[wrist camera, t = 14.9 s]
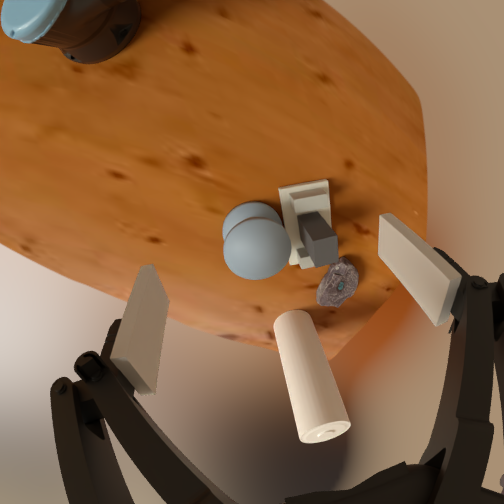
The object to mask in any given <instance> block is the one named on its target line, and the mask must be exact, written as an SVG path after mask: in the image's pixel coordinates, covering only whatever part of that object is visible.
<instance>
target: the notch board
mask: <svg viewBox="0 0 504 504" xmlns="http://www.w3.org/2000/svg"><path fill="white" fill-rule="evenodd" d="M278 189H279V195H280V201H281V208H282V215H283V221H284V228H285V230H286V232H287V234H288V236H289V238H290V240H291V247H292V249H291V255H290V258H289V263H290V265H295V264H300V267H301V269H305V268H310V267H314V266H315V265H314V263H313V261H312V260H311V258H310V256H309V254H308V252H307V250H306V249H305V247H304V245H303V243H302V241H301V239H300V233H299V226H298V220H297V216H298V215H302V214H307V213H311V212H315V211H318V212H319V213H320V215H321V216H322V217H323V218H324V220H325V221H326V222H327V223H328V224H329V226H330V227H331V211H330V197H329V185H328V180H326V179H323V180H317V181H311V182H306V183H300V184H295V185H289V186H284V187H279V188H278ZM331 228H332V227H331Z"/></svg>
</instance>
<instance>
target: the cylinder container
mask: <svg viewBox="0 0 504 504" xmlns="http://www.w3.org/2000/svg"><path fill="white" fill-rule="evenodd" d="M274 332H275V336H276V340H277V344H278V349H279V353H280V357H281V361H282V365H283V369H284V374H285V378H286V382H287V387H288V391H289V395H290V399H291V403H292V408H293V412H294V416H295V421H296V425H297V429H298V433H299V438H300V441H302V442H304V443H316V442H322V441H326V440H328V439H332V438H334V437H336V436H338V435H340V434H342V433H344V432H345V431H346V430H348V428H349V427H350V425H351V424H350V421H349V419H348V416H347V413H346V410H345V407H344V404H343V401H342V399H341V396H340V393H339V390H338V388H337V385H336V382H335V379H334V377H333V374H332V371H331V369H330V366H329V363H328V360H327V358H326V355H325V352H324V350H323V347H322V345H321V342H320V339H319V337H318V334H317V332H316V329H315V326H314V324H313V321H312V319H311V316H310V315H309V314H308V313H307V312H305V311H303V310H291V311H288V312H285V313H283V314H282V315H280V316H279V317H278V318H277V319H276V321H275V323H274Z"/></svg>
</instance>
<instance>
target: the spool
mask: <svg viewBox="0 0 504 504" xmlns="http://www.w3.org/2000/svg"><path fill="white" fill-rule="evenodd" d="M223 238H224V258H225V261H226V264H227V265H228V267H229V268H230V269H231V270H232V271H233V272H234V273H235V274H237V275H238V276H240V277H243V278H246V279H251V280H259V279H265V278H268V277H271V276H273V275H275V274H276V273H278V272H279V271H280V270H282V269H283V267H284V266H285V265H286V264H287V262H288V260H289V258H290V255H291V249H292V247H291V240H290V238H289V236H288V234H287V232H286V230H285V229H284V227H283V226H282V222H281V219H280V217H279V215H278V214H277V212H276V211H275V210H274V209H273V208H272V207H270V206H269V205H267V204H265V203H262V202H256V201H252V202H245V203H242V204H240V205H238V206H236V207H235V208H233V209H232V210H231V211H230V212H229V213H228V215H227V216H226V218H225V220H224V223H223Z"/></svg>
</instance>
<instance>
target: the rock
mask: <svg viewBox="0 0 504 504" xmlns="http://www.w3.org/2000/svg"><path fill="white" fill-rule="evenodd" d="M358 277H359V275H358V271H357V269H356V268H355V267H354V266H353V264H352V263H351V262H350V261H349V260H348V259H346V258H345V257H341V258H339V262H336V263H332V264H331V265H330V267H329V269H328V273H327V274H325V276H324V278H323V279H322V281H321V283H320V285H319V287H318V289H317V299H316V301H317V303H318V304H320V305H321V306H335V307H337V308H338V307H339V306H340V305H341V304H342V303H343V302H344V301H345V300H346V299H347V298H348V297H351V296H352V295H353V294H354V292H355V290H356V288H357V285H358Z"/></svg>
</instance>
